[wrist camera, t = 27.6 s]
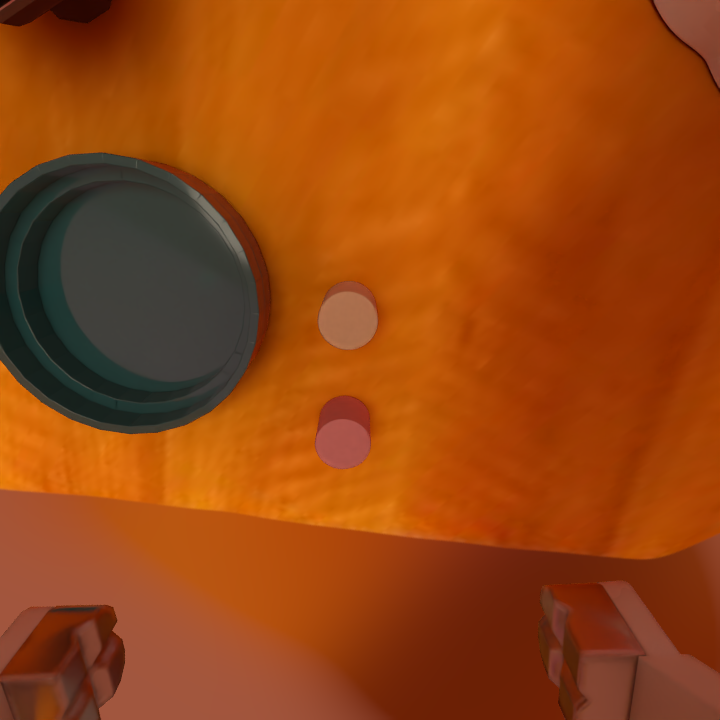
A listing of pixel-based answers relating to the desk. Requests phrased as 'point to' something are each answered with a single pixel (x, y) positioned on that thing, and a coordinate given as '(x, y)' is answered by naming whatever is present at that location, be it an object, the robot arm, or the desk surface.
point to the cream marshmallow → (348, 316)
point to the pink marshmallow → (343, 433)
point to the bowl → (127, 292)
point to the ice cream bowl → (75, 3)
